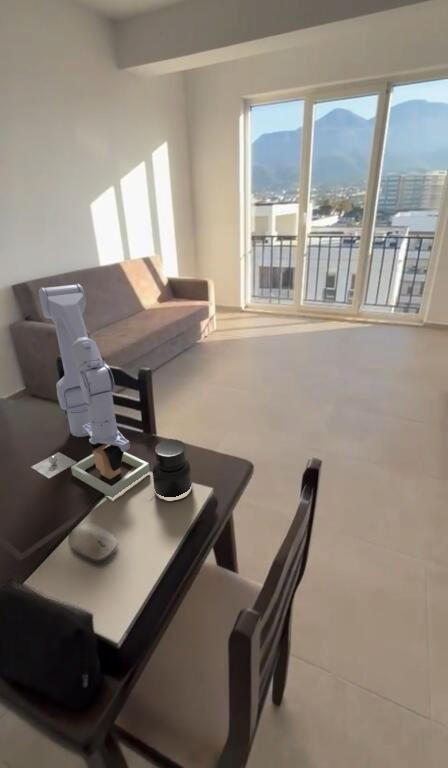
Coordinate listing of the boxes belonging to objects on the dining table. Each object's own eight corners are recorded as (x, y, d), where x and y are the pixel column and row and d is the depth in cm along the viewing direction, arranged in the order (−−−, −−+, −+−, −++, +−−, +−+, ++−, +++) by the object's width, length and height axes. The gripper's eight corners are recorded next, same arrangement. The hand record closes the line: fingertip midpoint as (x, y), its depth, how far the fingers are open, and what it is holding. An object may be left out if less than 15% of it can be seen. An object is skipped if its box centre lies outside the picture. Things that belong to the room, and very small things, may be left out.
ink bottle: (192, 475, 97) (189, 434, 92) (195, 499, 89) (193, 456, 84) (152, 480, 95) (148, 438, 90) (152, 505, 87) (147, 461, 82)
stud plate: (59, 455, 105) (57, 444, 104) (77, 465, 101) (75, 454, 99) (31, 470, 99) (28, 458, 98) (49, 481, 95) (46, 470, 94)
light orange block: (98, 477, 95) (92, 450, 92) (115, 466, 99) (110, 440, 96) (107, 482, 94) (101, 455, 90) (123, 471, 97) (119, 444, 94)
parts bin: (110, 455, 105) (109, 444, 103) (150, 474, 97) (148, 463, 96) (73, 478, 96) (70, 466, 95) (113, 501, 88) (111, 489, 87)
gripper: (68, 415, 90) (77, 463, 96) (109, 434, 83) (117, 484, 88) (93, 403, 96) (100, 449, 101) (134, 420, 88) (140, 469, 94)
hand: (110, 465), depth 95 cm, fingers open, 4 cm apart
